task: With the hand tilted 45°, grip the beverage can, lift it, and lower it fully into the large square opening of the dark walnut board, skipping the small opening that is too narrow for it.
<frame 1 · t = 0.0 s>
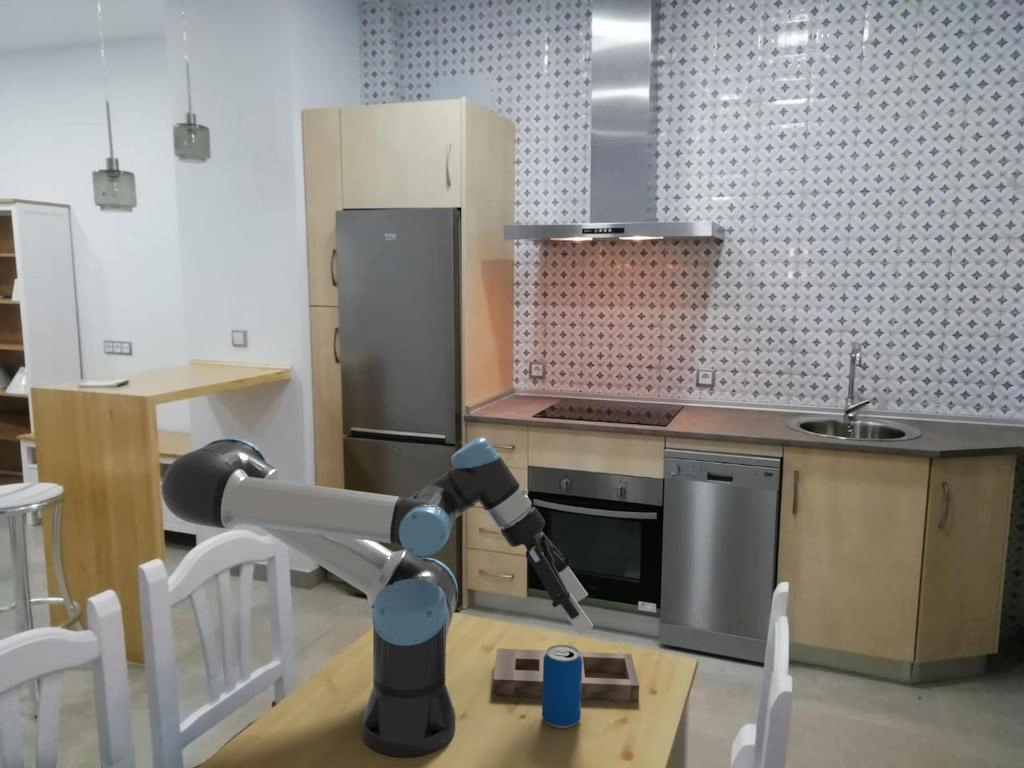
hand: (584, 613, 132), 15 cm above the table, tool tilted 35°, fingers open, 13 cm apart
hole board: (564, 681, 139), on the table
beverage can: (560, 721, 126), on the table
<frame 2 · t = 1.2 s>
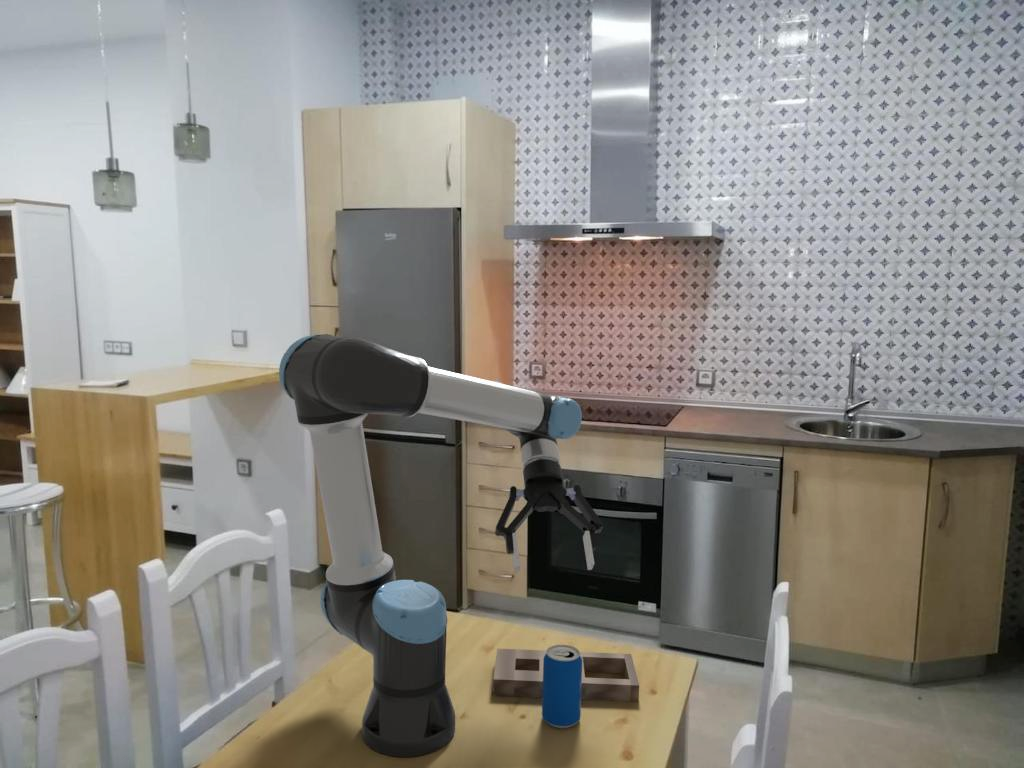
hand: (554, 568, 134), 23 cm above the table, tool tilted 45°, fingers open, 13 cm apart
nothing on the table moved.
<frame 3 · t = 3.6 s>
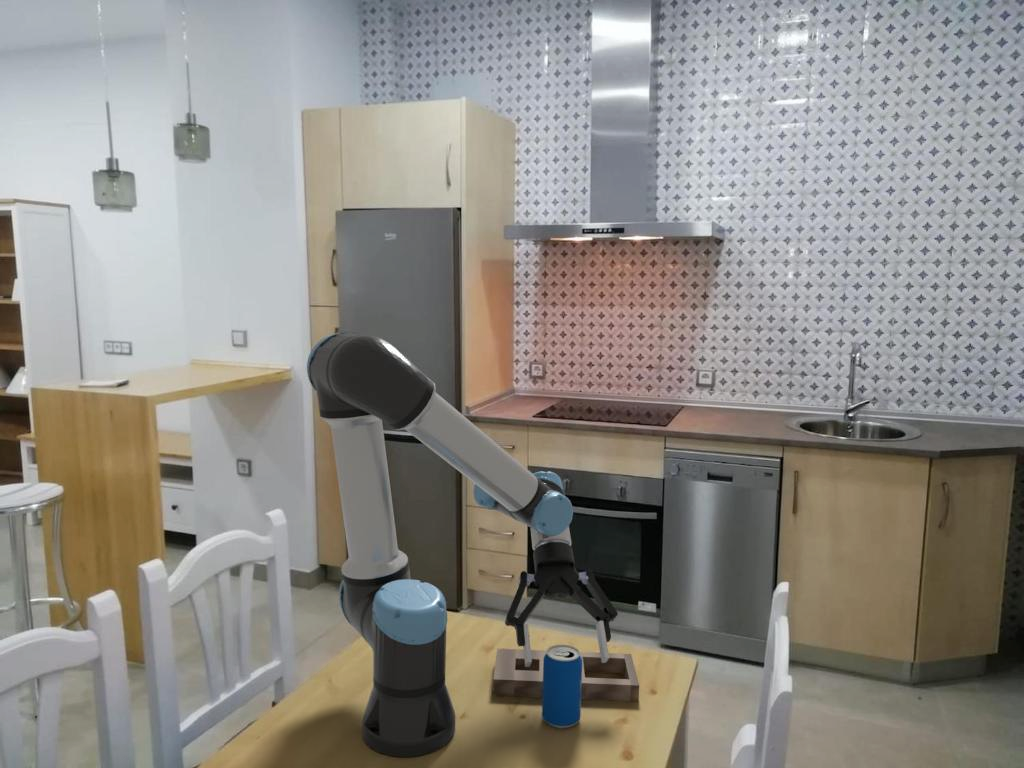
hand: (567, 662, 128), 8 cm above the table, tool tilted 45°, fingers open, 13 cm apart
nothing on the table moved.
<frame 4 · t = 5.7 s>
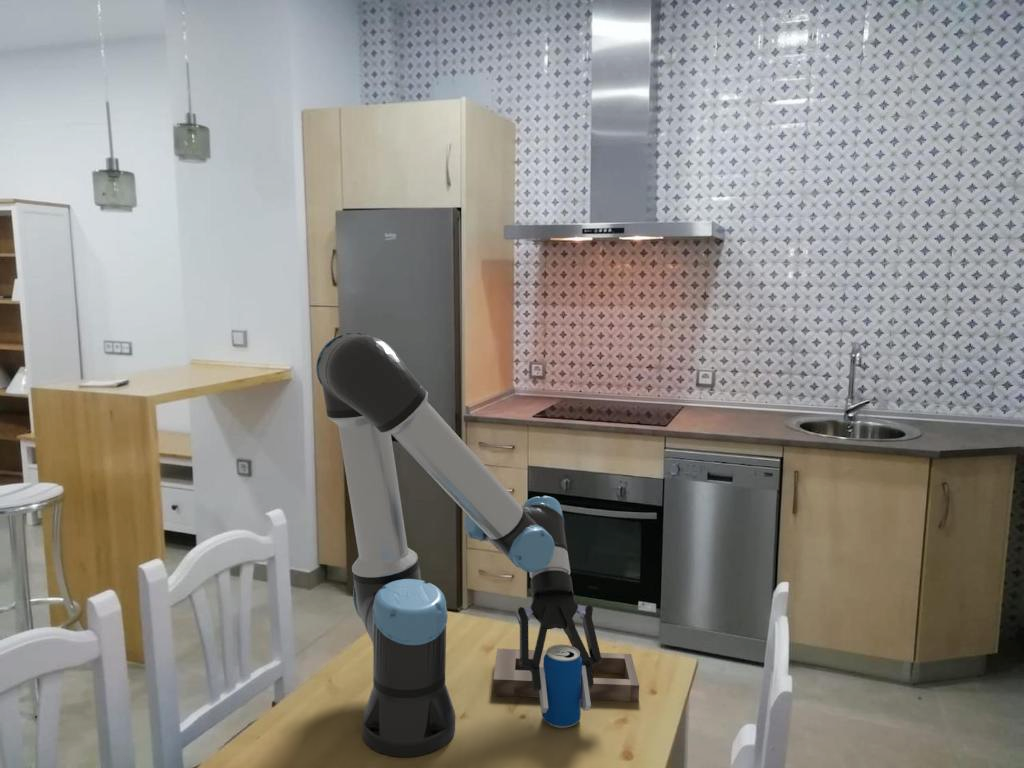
hand: (566, 709, 122), 4 cm above the table, tool tilted 45°, fingers closed on beverage can, 6 cm apart
beverage can: (560, 721, 126), on the table, touching gripper
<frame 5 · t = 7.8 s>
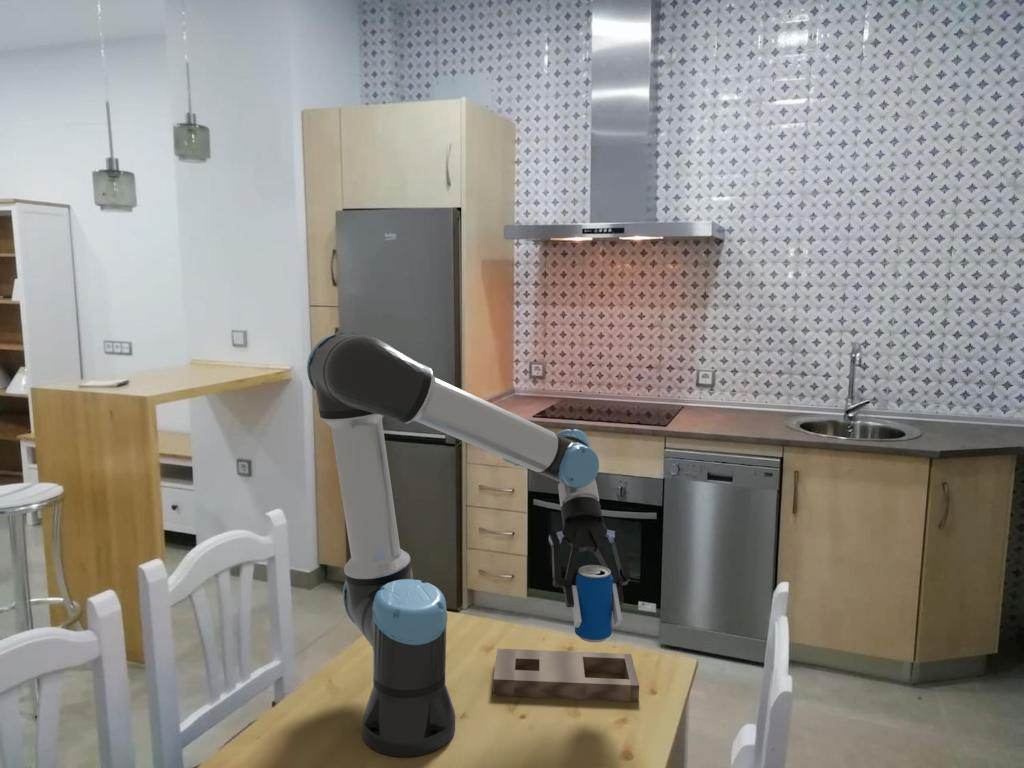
hand: (598, 623, 128), 16 cm above the table, tool tilted 45°, fingers closed on beverage can, 6 cm apart
beverage can: (593, 637, 132), point 12 cm above the table, touching gripper
when the fingers open (5 cm above the table, at t = 10.3 s): beverage can drops 1 cm, resting in hole board.
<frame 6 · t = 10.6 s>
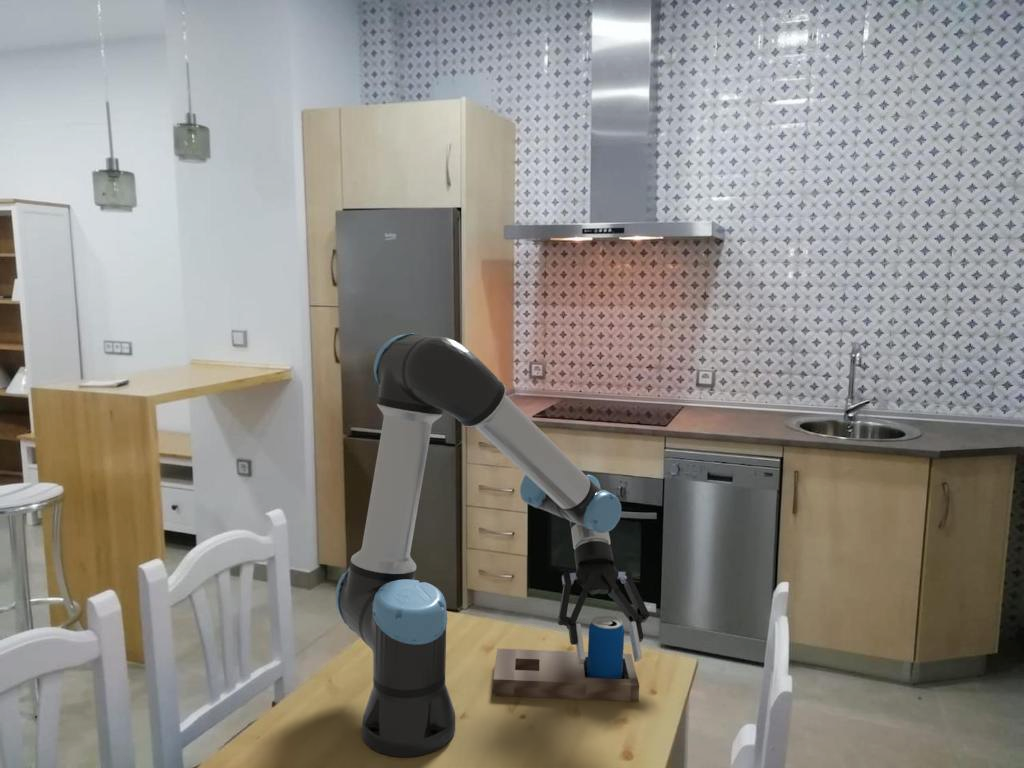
hand: (610, 660, 135), 6 cm above the table, tool tilted 45°, fingers open, 10 cm apart
beverage can: (604, 684, 139), resting in hole board
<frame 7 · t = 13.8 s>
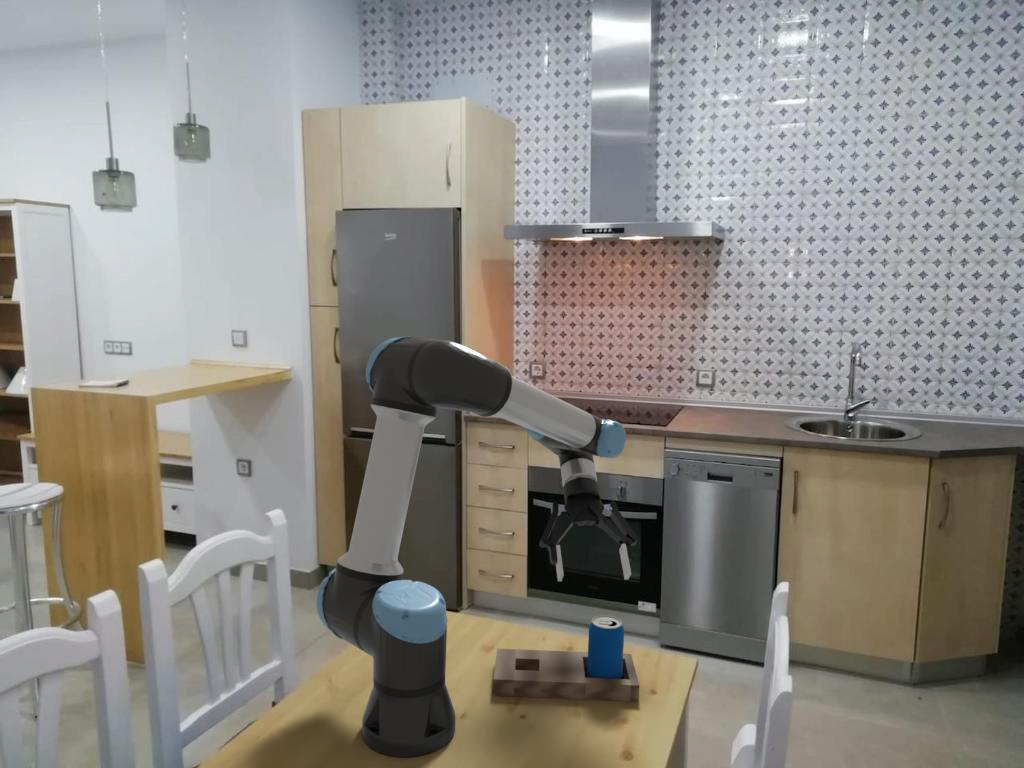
hand: (594, 577, 147), 16 cm above the table, tool tilted 45°, fingers open, 13 cm apart
nothing on the table moved.
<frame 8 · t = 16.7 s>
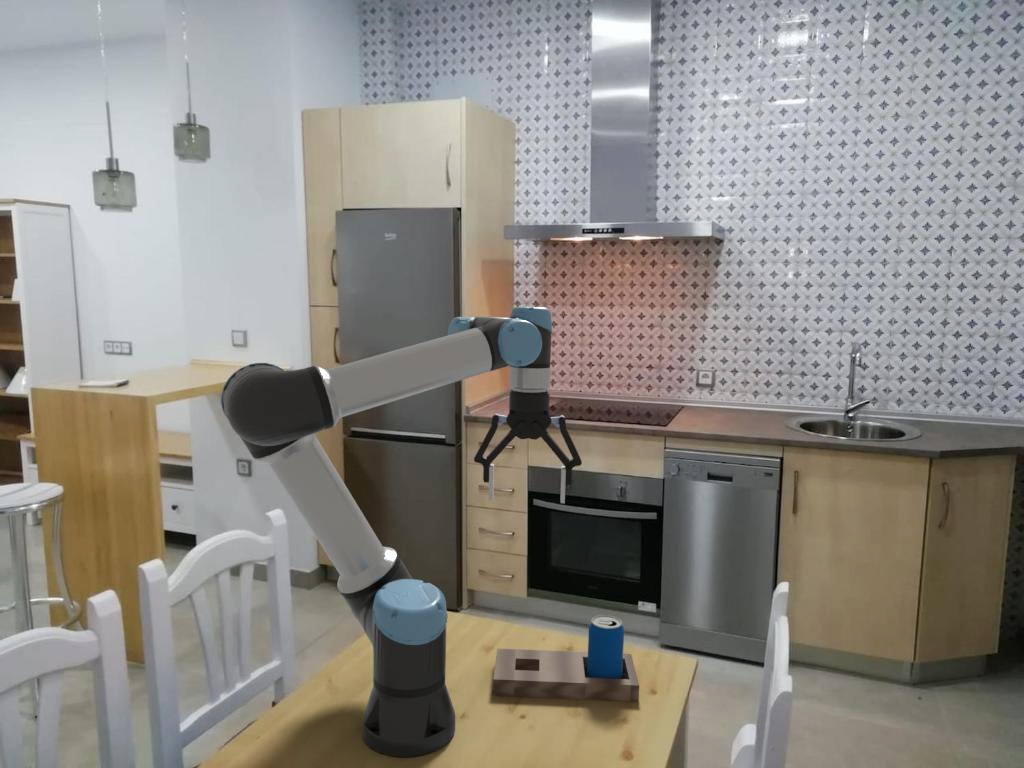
hand: (526, 500, 142), 33 cm above the table, tool pointing down, fingers open, 13 cm apart
nothing on the table moved.
at the end: beverage can 0.1 cm from the target spot on the hole board, point 0.0 cm above the hole board's base; beverage can tilted 0°; the gripper is holding nothing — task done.
